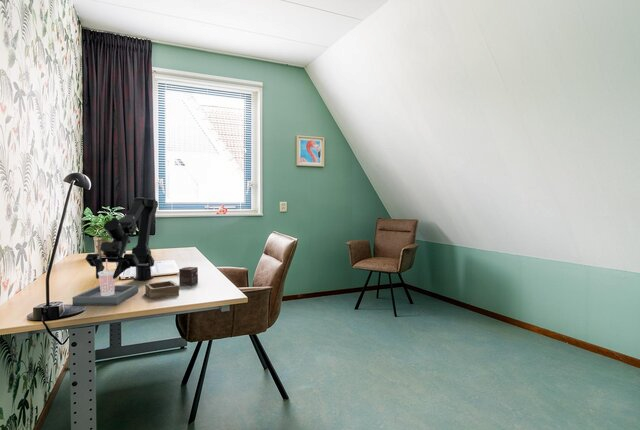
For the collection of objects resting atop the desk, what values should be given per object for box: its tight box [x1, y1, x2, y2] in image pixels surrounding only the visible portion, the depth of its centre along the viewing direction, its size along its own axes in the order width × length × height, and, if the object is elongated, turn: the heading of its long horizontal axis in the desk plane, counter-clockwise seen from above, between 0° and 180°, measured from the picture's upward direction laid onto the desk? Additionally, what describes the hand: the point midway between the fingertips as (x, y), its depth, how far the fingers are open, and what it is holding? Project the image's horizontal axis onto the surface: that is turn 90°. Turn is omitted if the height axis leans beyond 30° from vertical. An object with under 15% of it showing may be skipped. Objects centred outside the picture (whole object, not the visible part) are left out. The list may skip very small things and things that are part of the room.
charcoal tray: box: [72, 284, 139, 306], centre depth 151 cm, size 18×16×3 cm
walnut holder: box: [144, 280, 180, 300], centre depth 157 cm, size 10×10×4 cm
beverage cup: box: [98, 259, 116, 296], centre depth 151 cm, size 6×6×14 cm
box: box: [178, 266, 199, 287], centre depth 175 cm, size 6×6×7 cm
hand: (105, 278), depth 149 cm, fingers closed on beverage cup, 6 cm apart
